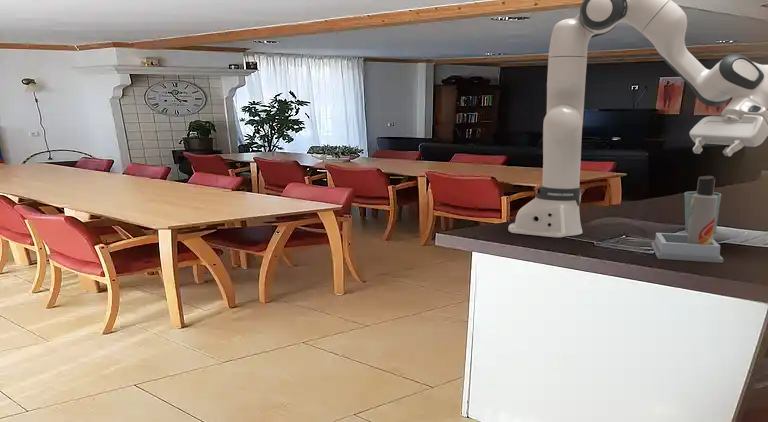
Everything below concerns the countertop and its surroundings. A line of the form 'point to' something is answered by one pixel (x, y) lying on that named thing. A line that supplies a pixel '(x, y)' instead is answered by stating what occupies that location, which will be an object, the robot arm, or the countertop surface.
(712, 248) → the shallow soap dish
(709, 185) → the lotion bottle
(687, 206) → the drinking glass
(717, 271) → the countertop surface
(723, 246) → the countertop surface
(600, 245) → the countertop surface
